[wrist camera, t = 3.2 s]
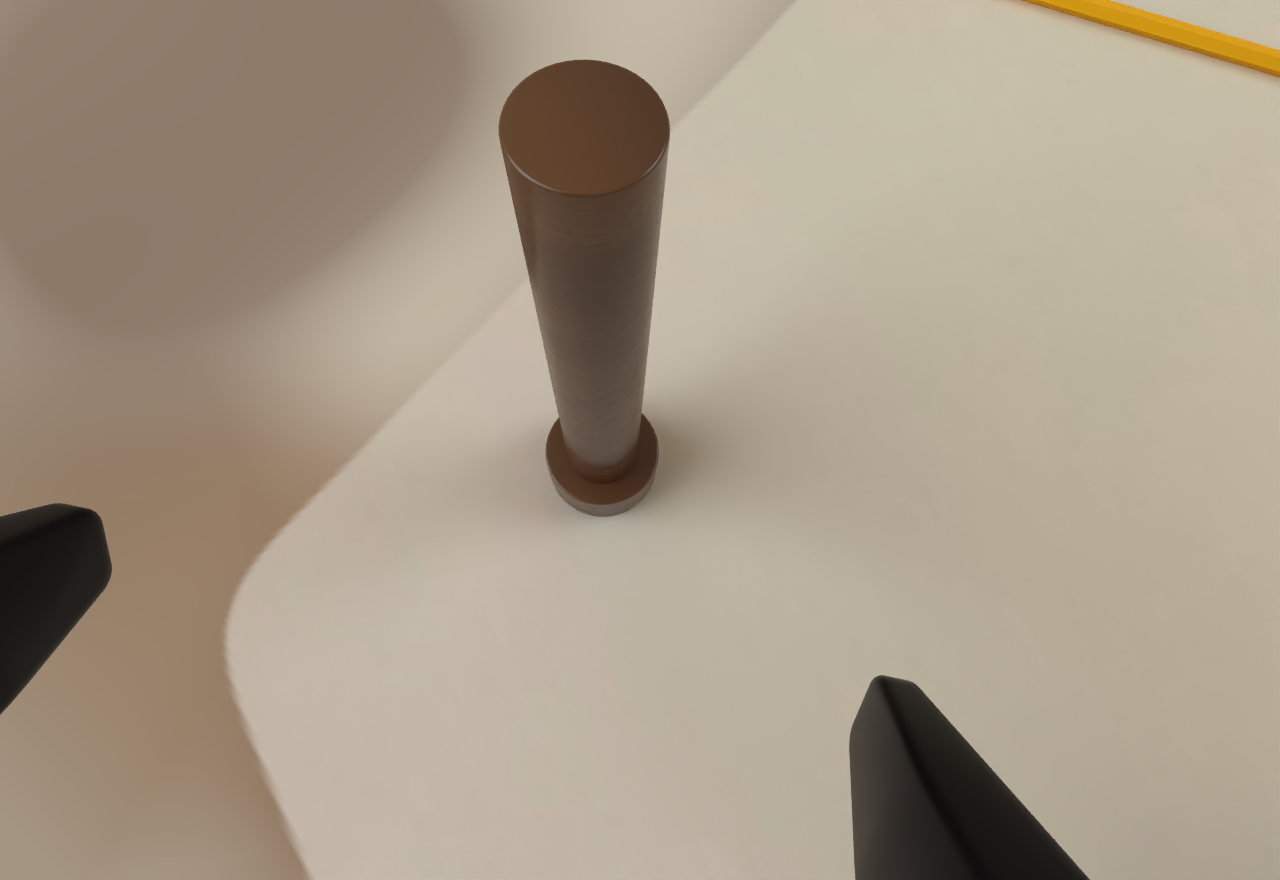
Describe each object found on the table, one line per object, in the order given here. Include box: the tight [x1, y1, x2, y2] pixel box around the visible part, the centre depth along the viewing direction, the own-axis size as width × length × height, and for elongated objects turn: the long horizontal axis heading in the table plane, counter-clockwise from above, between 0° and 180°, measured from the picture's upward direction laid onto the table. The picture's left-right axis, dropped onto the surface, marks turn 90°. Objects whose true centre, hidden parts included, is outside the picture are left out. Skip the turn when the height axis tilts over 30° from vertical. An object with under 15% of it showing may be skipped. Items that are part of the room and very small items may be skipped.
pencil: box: [1024, 0, 1280, 76], centre depth 27 cm, size 1×18×1 cm, turn 70°
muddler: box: [499, 60, 670, 516], centre depth 15 cm, size 3×3×14 cm
